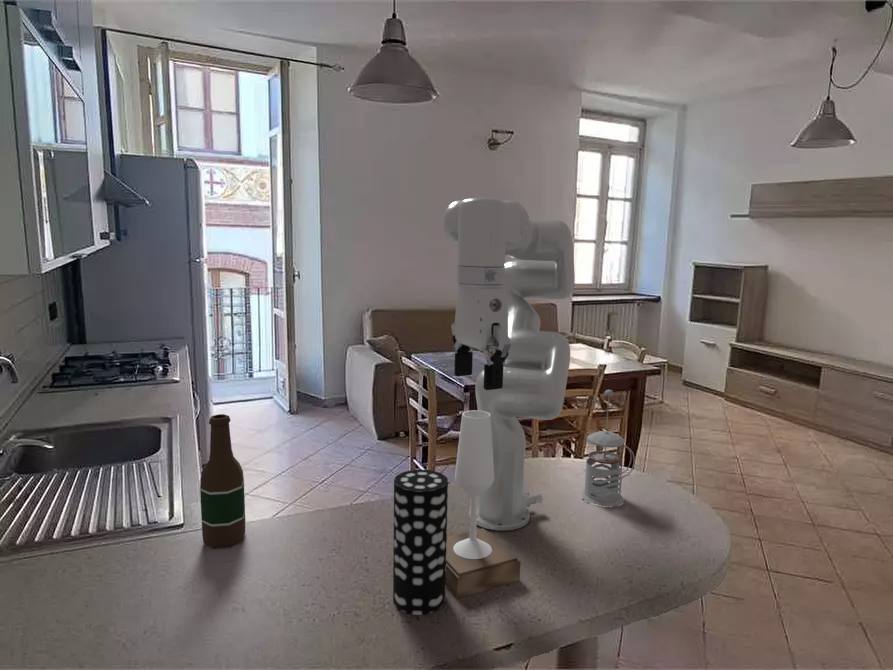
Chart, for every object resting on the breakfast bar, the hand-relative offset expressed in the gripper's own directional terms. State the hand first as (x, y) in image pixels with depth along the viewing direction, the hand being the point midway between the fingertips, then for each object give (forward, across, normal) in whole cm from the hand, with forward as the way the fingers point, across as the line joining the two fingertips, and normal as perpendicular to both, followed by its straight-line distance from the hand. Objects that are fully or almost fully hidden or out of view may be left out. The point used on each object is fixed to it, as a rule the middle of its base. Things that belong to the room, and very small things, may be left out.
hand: (477, 381), depth 96 cm
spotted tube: (+34, -4, +12) cm, 36 cm away
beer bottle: (+34, +29, +37) cm, 58 cm away
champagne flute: (+30, 0, 0) cm, 30 cm away
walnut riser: (+34, 0, 0) cm, 34 cm away
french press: (+34, +13, -42) cm, 55 cm away
